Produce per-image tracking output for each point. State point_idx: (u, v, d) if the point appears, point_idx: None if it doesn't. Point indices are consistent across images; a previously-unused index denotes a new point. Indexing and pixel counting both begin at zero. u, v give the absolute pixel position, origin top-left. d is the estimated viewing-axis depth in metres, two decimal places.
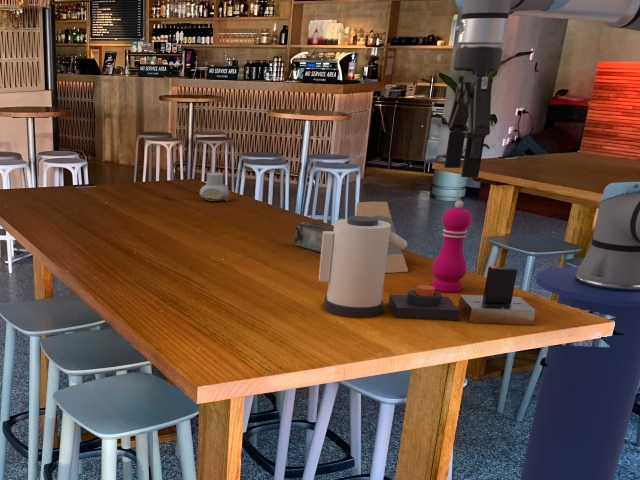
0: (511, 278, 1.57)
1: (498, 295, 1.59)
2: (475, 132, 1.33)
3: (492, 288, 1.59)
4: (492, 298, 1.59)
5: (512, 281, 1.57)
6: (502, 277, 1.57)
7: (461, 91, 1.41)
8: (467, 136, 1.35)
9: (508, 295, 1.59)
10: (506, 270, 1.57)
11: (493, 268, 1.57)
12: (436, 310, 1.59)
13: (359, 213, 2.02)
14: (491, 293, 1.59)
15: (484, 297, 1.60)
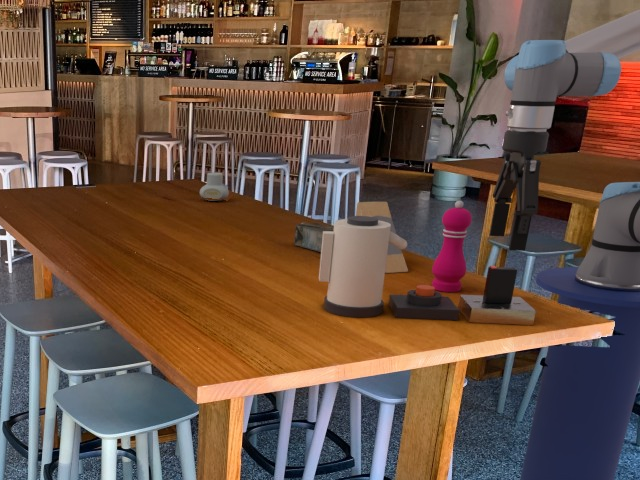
0: (511, 278, 1.57)
1: (498, 295, 1.59)
2: (524, 211, 1.44)
3: (492, 288, 1.59)
4: (492, 298, 1.59)
5: (512, 281, 1.57)
6: (502, 277, 1.57)
7: (508, 169, 1.52)
8: (516, 214, 1.46)
9: (508, 295, 1.59)
10: (506, 270, 1.57)
11: (493, 268, 1.57)
12: (436, 310, 1.59)
13: (359, 213, 2.02)
14: (491, 293, 1.59)
15: (484, 297, 1.60)
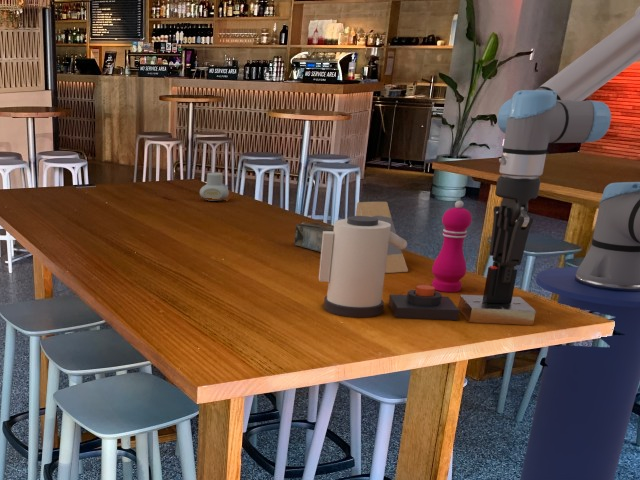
0: None
1: None
2: (508, 264, 1.53)
3: (493, 288, 1.58)
4: (493, 298, 1.59)
5: (512, 281, 1.58)
6: None
7: None
8: (499, 265, 1.55)
9: None
10: None
11: (494, 268, 1.57)
12: (436, 310, 1.59)
13: (359, 213, 2.02)
14: (492, 293, 1.59)
15: (484, 297, 1.60)
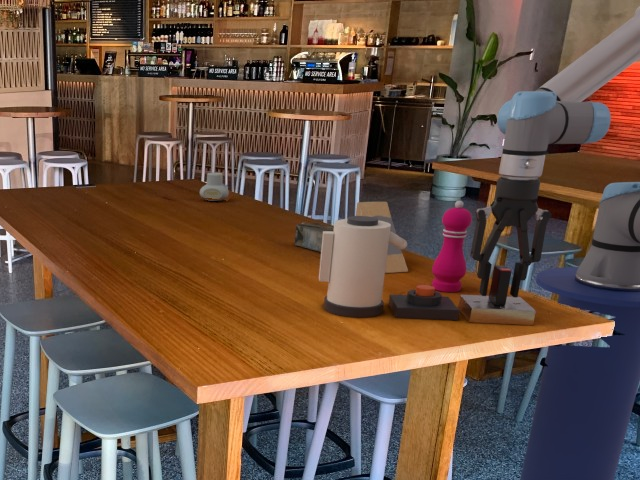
0: None
1: None
2: (539, 260, 1.55)
3: None
4: None
5: None
6: None
7: None
8: None
9: None
10: (507, 268, 1.58)
11: (510, 270, 1.56)
12: (436, 310, 1.59)
13: (359, 213, 2.02)
14: None
15: (500, 301, 1.58)
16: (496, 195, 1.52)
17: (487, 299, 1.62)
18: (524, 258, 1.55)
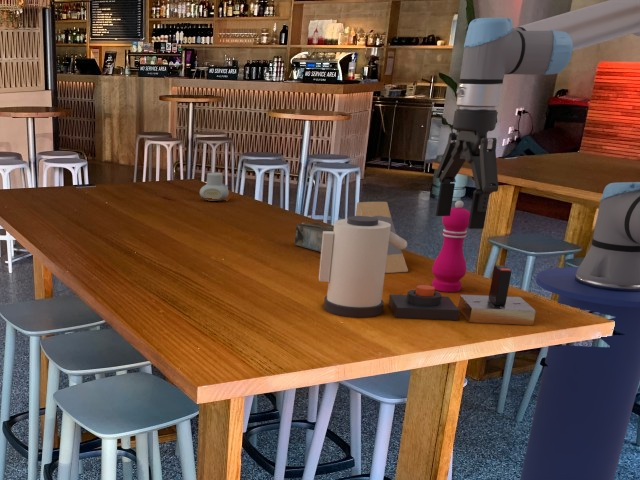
0: None
1: None
2: (486, 189, 1.44)
3: None
4: None
5: None
6: None
7: (458, 148, 1.52)
8: (476, 192, 1.46)
9: None
10: (507, 268, 1.58)
11: (510, 270, 1.56)
12: (436, 310, 1.59)
13: (359, 213, 2.02)
14: None
15: (500, 301, 1.58)
16: None
17: (487, 299, 1.62)
18: (476, 187, 1.47)
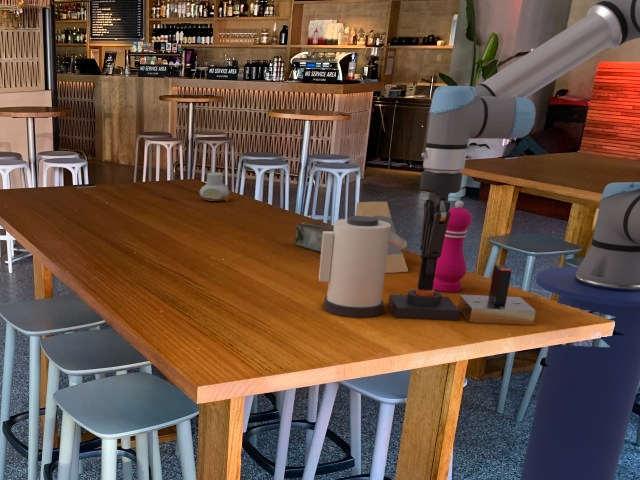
0: None
1: None
2: (428, 256, 1.57)
3: None
4: None
5: None
6: None
7: (427, 207, 1.58)
8: (422, 257, 1.59)
9: None
10: (507, 268, 1.58)
11: (510, 270, 1.56)
12: (436, 310, 1.59)
13: (359, 213, 2.02)
14: None
15: (500, 301, 1.58)
16: None
17: (487, 299, 1.62)
18: (425, 250, 1.59)
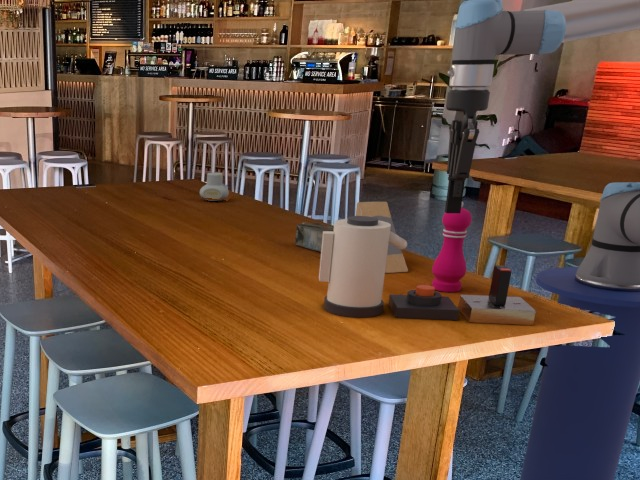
0: None
1: None
2: (456, 177, 1.55)
3: None
4: None
5: None
6: None
7: (453, 128, 1.56)
8: (449, 180, 1.57)
9: None
10: (507, 268, 1.58)
11: (510, 270, 1.56)
12: (436, 310, 1.59)
13: (359, 213, 2.02)
14: None
15: (500, 301, 1.58)
16: None
17: (487, 299, 1.62)
18: (452, 172, 1.57)
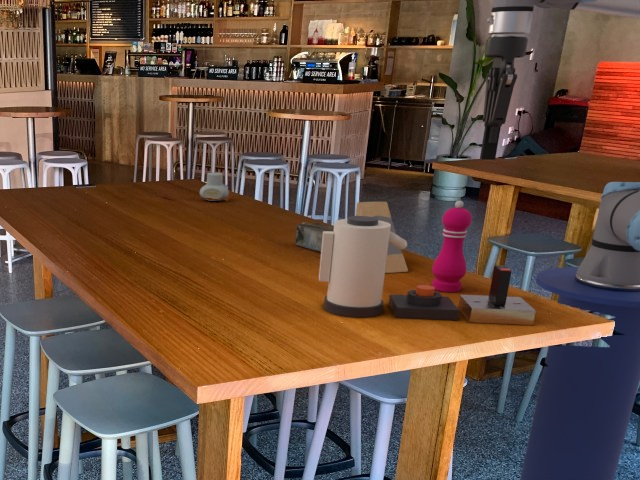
0: None
1: None
2: (492, 123, 1.60)
3: None
4: None
5: None
6: None
7: None
8: (485, 126, 1.62)
9: None
10: (507, 268, 1.58)
11: (510, 270, 1.56)
12: (436, 310, 1.59)
13: (359, 213, 2.02)
14: None
15: (500, 301, 1.58)
16: None
17: (487, 299, 1.62)
18: (489, 119, 1.62)
